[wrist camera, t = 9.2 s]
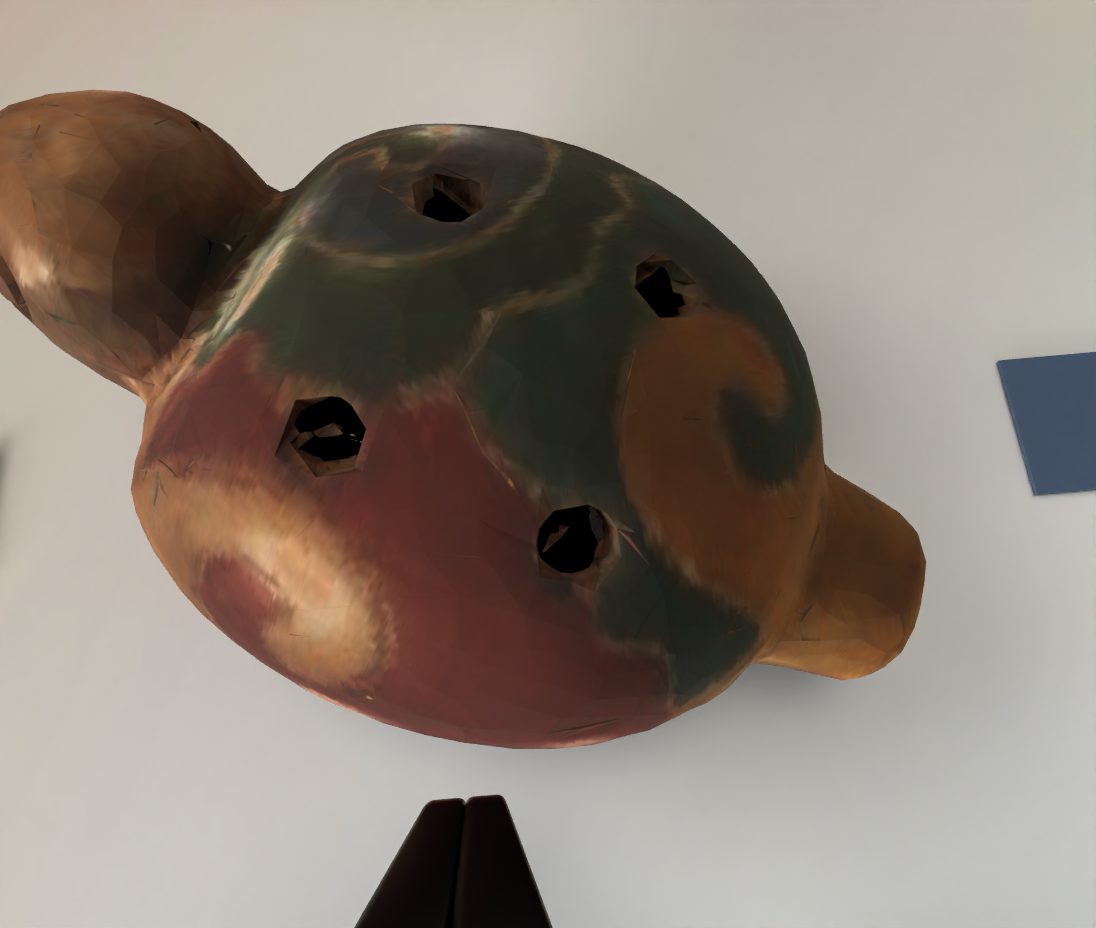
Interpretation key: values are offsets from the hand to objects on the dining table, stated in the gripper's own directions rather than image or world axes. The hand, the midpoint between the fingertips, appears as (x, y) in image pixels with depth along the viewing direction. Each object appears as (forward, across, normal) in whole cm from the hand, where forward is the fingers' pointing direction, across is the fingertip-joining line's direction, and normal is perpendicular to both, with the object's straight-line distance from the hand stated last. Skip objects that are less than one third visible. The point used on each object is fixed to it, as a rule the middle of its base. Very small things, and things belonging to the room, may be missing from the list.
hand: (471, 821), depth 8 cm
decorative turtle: (+9, 0, +1) cm, 9 cm away
